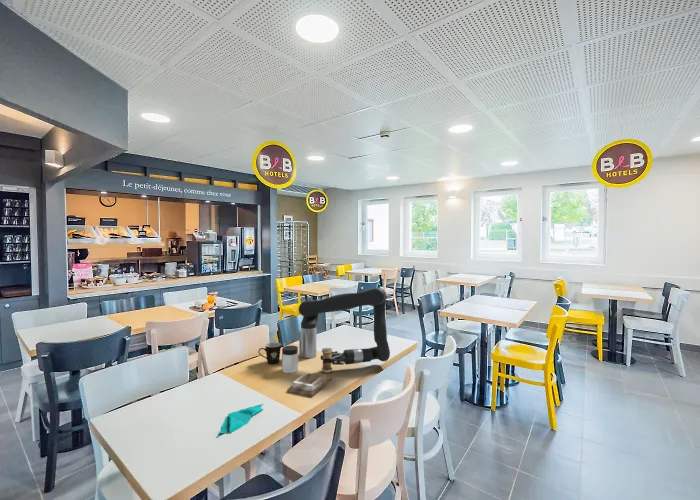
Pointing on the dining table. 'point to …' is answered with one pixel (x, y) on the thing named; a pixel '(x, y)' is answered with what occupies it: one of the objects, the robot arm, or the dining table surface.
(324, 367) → the bobbin
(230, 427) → the cloth
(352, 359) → the robot arm
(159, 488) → the dining table surface
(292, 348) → the jar
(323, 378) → the brown board with bracket
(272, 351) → the coffee mug
